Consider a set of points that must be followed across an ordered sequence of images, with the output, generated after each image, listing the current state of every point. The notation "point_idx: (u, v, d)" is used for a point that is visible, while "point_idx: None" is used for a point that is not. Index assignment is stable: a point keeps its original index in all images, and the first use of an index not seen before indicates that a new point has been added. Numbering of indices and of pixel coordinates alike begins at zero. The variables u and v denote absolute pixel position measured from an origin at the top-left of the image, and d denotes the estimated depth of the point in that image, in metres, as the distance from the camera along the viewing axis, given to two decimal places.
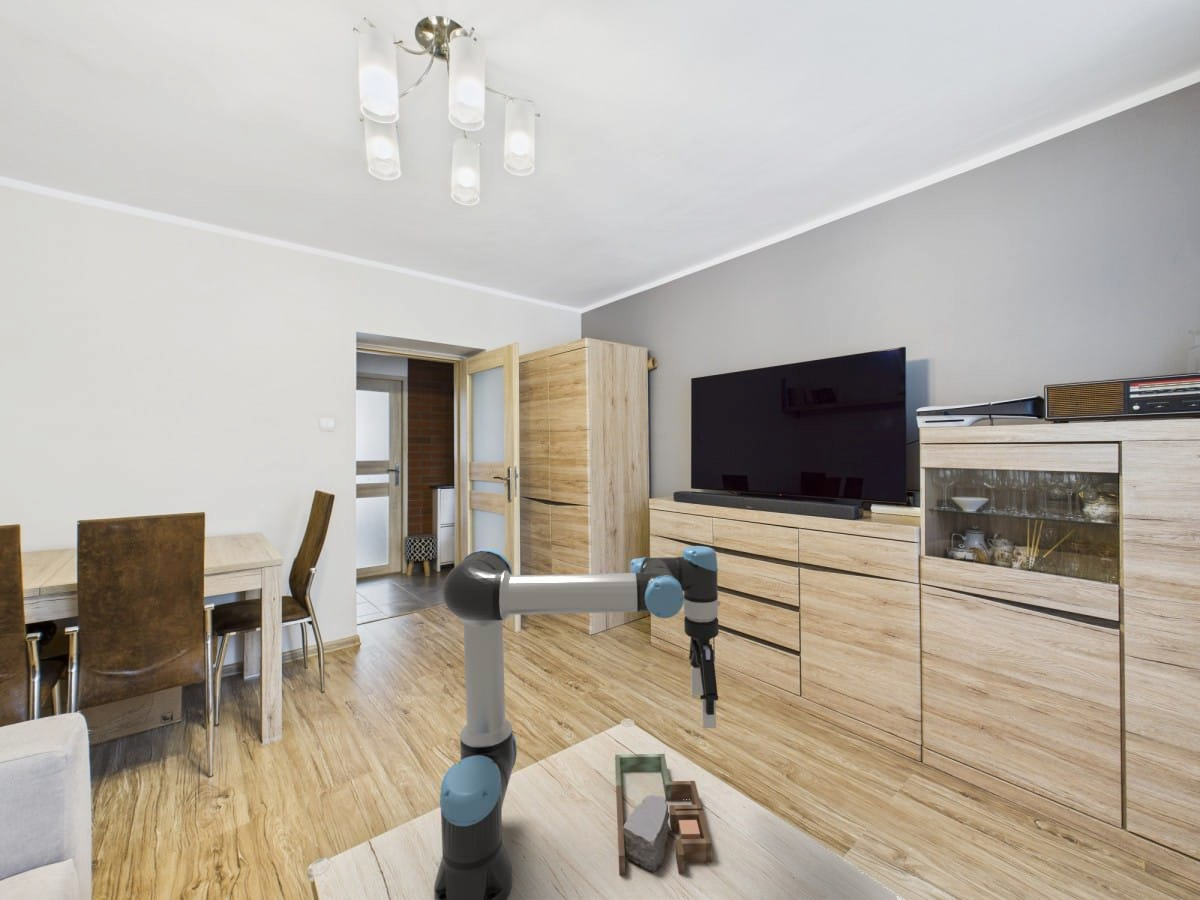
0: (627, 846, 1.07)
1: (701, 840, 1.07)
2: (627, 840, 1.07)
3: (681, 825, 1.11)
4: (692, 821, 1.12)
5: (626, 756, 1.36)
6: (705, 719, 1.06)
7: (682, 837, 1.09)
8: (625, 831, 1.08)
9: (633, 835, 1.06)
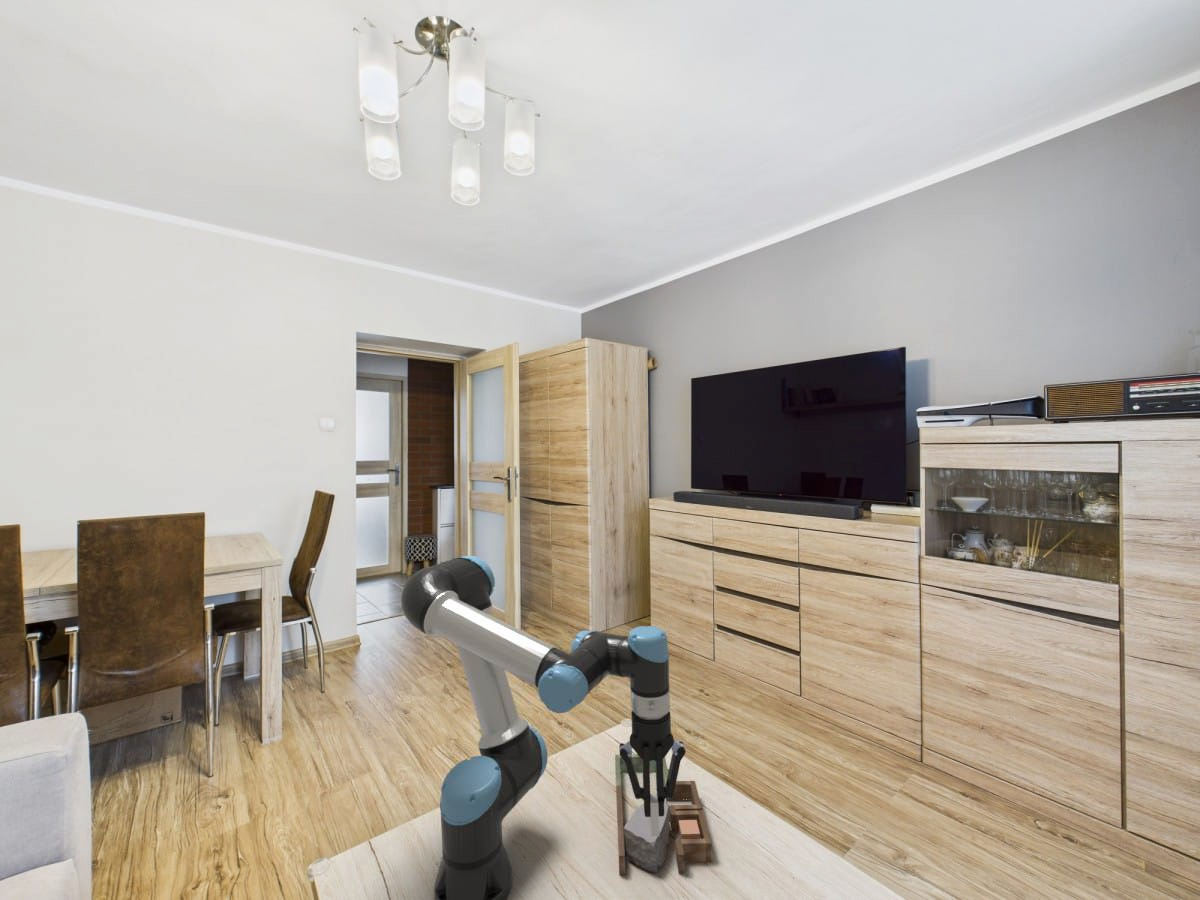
0: (628, 847, 1.07)
1: (701, 840, 1.07)
2: (628, 841, 1.07)
3: (681, 825, 1.11)
4: (692, 821, 1.12)
5: None
6: (650, 818, 0.98)
7: (682, 837, 1.09)
8: (625, 832, 1.07)
9: (634, 836, 1.06)
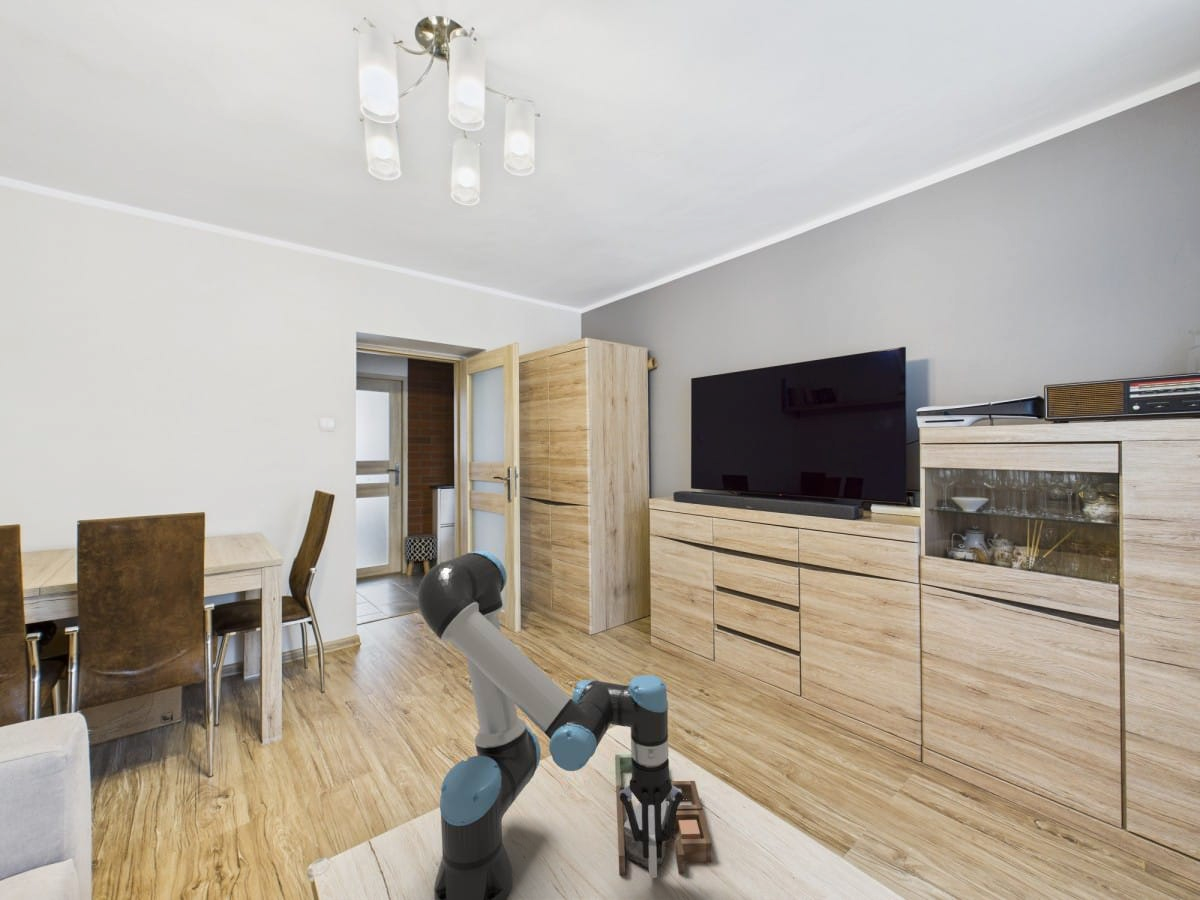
0: (627, 845, 1.07)
1: (701, 840, 1.07)
2: (628, 839, 1.07)
3: (681, 825, 1.11)
4: (692, 821, 1.13)
5: (626, 756, 1.36)
6: (648, 859, 1.03)
7: (682, 837, 1.09)
8: (625, 830, 1.08)
9: None
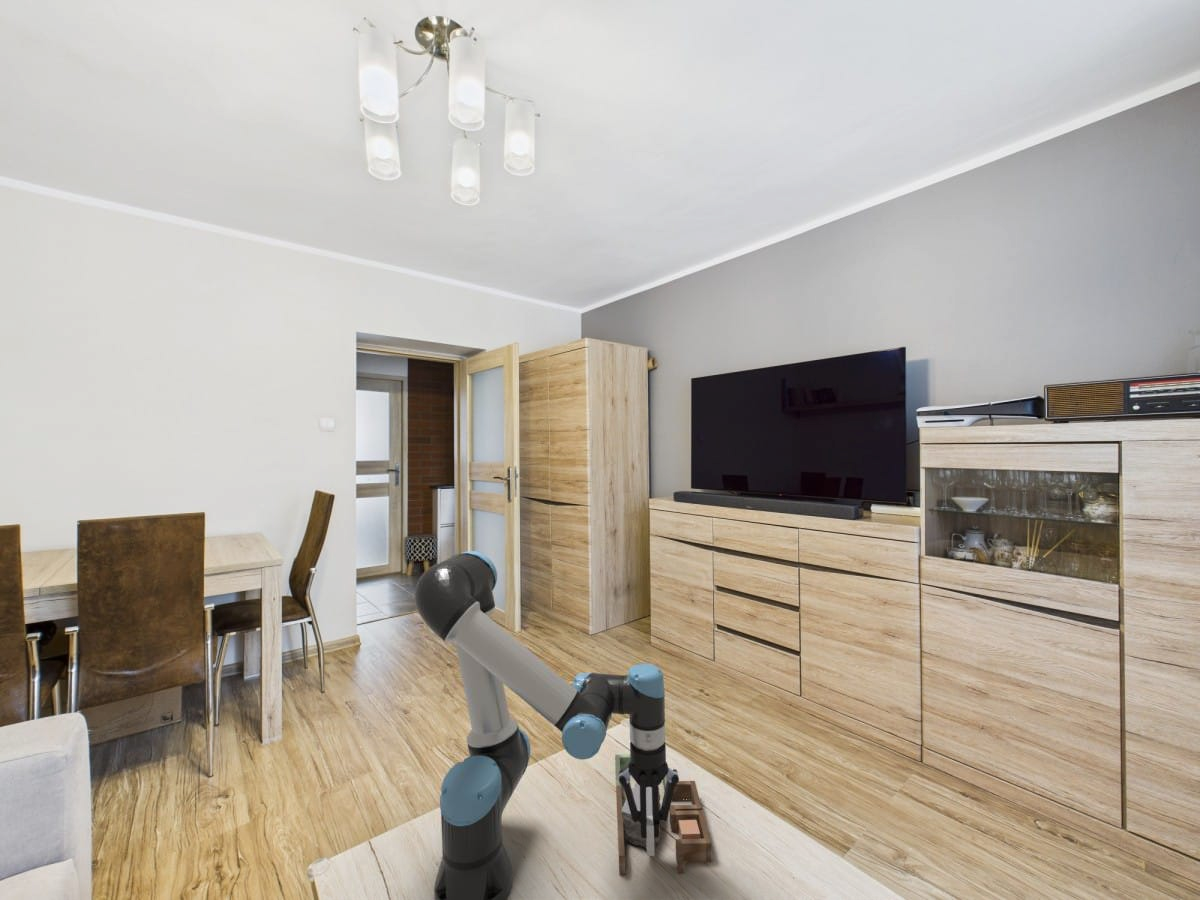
0: (626, 829, 1.12)
1: (701, 840, 1.07)
2: (626, 823, 1.12)
3: (681, 825, 1.11)
4: (692, 821, 1.13)
5: (626, 756, 1.36)
6: (646, 838, 1.08)
7: (682, 837, 1.09)
8: (623, 815, 1.12)
9: None
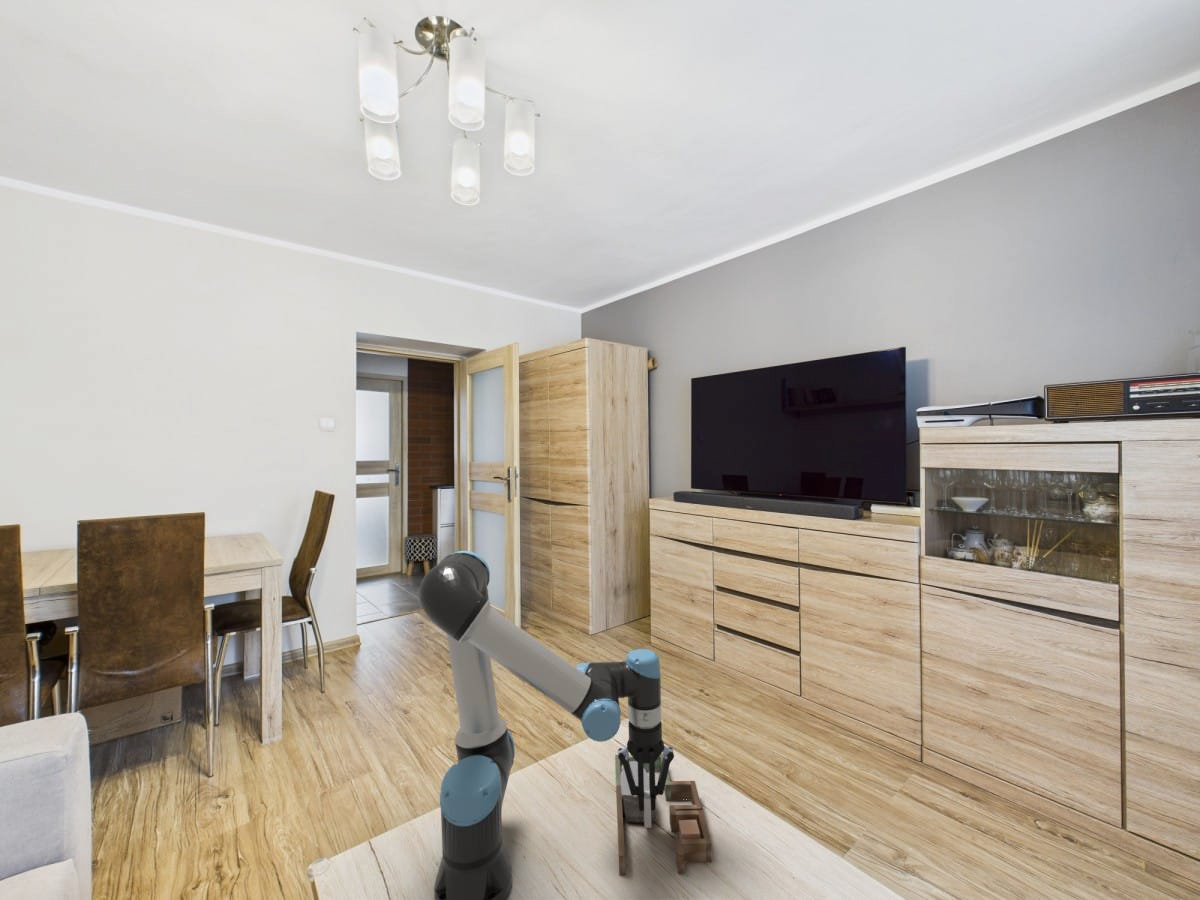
0: (627, 810, 1.17)
1: (701, 840, 1.07)
2: (627, 805, 1.17)
3: (681, 825, 1.11)
4: (692, 821, 1.13)
5: None
6: None
7: (682, 837, 1.09)
8: (624, 797, 1.18)
9: (634, 798, 1.17)
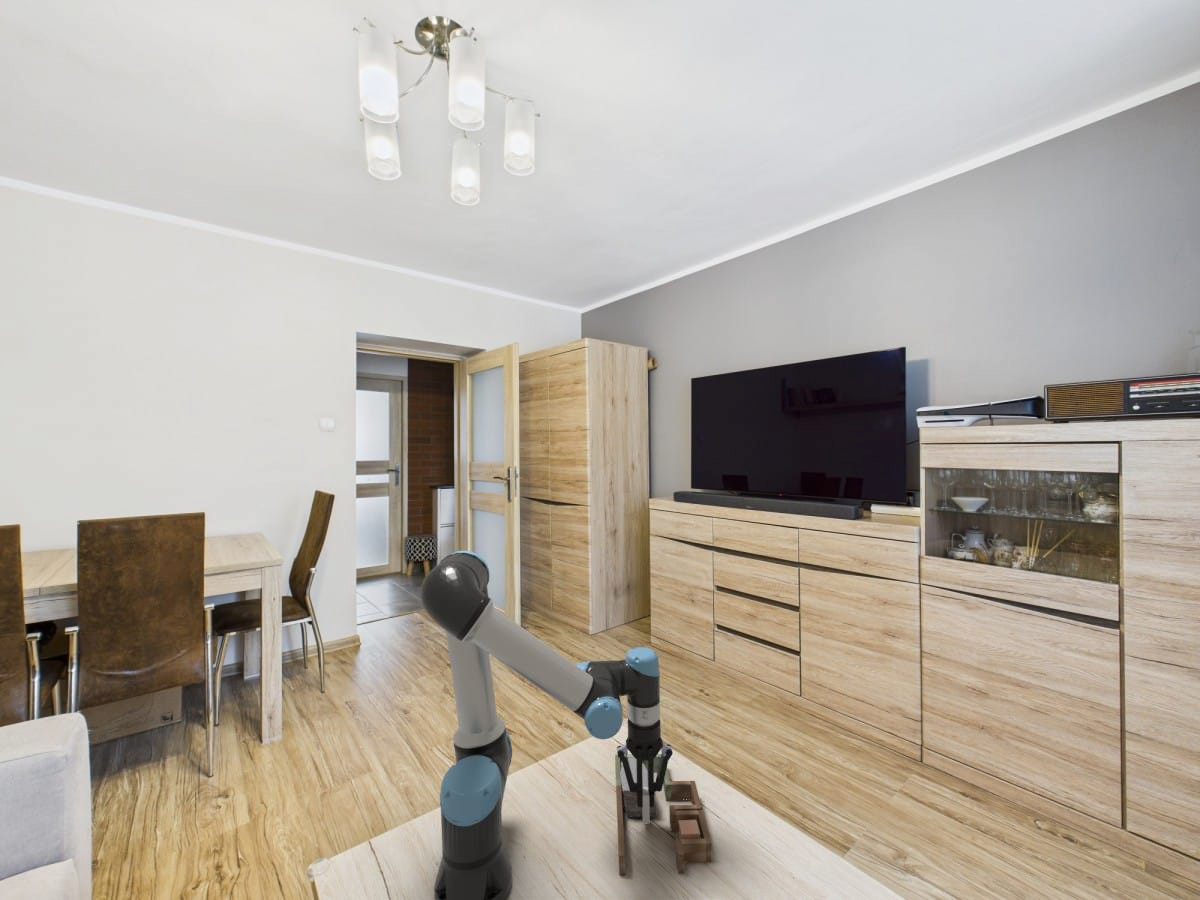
0: (628, 805, 1.19)
1: (701, 840, 1.07)
2: (628, 800, 1.19)
3: (681, 825, 1.11)
4: (692, 821, 1.13)
5: None
6: (642, 808, 1.17)
7: (682, 837, 1.09)
8: (625, 793, 1.19)
9: (635, 793, 1.19)
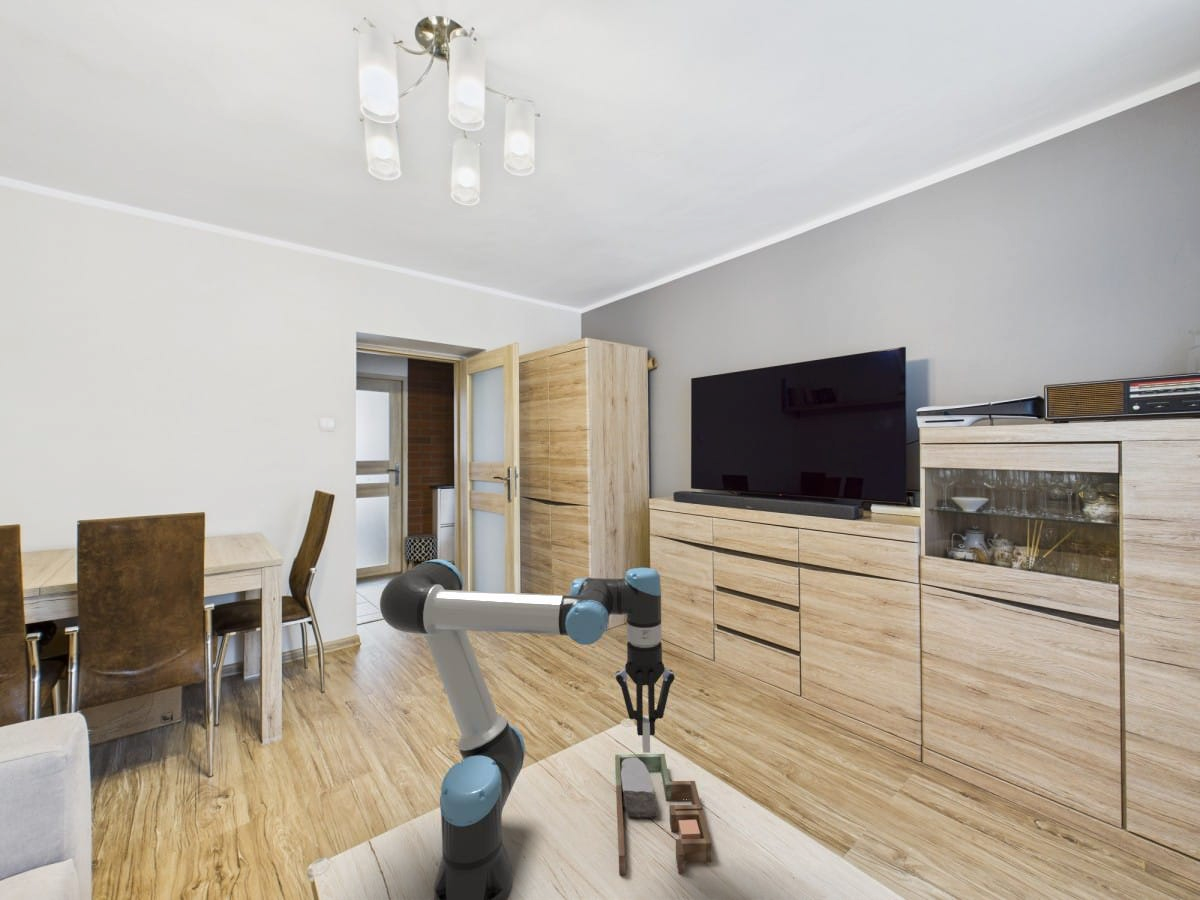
0: (628, 806, 1.19)
1: (701, 840, 1.07)
2: (628, 800, 1.19)
3: (681, 825, 1.11)
4: (692, 821, 1.13)
5: (626, 756, 1.36)
6: (642, 738, 1.11)
7: (682, 837, 1.09)
8: (625, 793, 1.19)
9: (635, 793, 1.19)
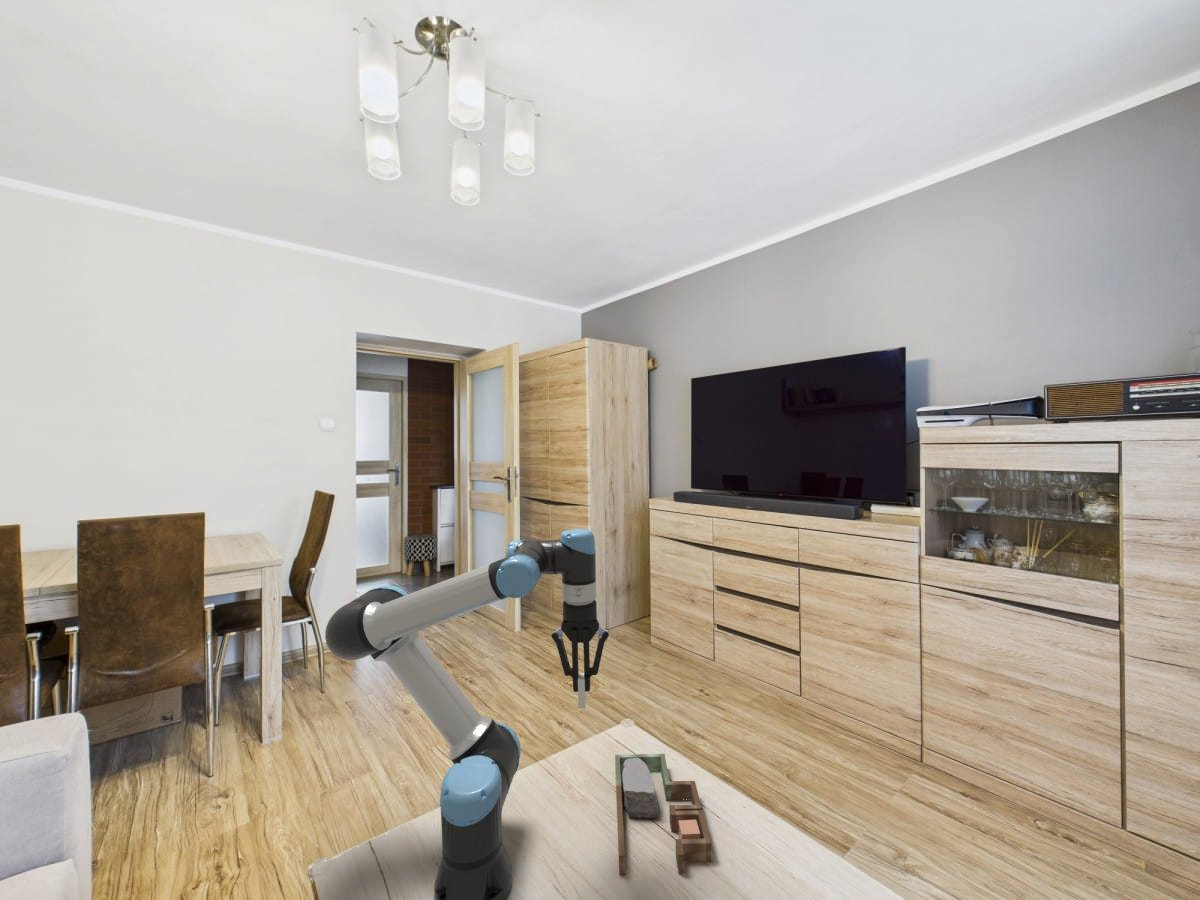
0: (629, 806, 1.19)
1: (701, 840, 1.07)
2: (629, 800, 1.19)
3: (681, 825, 1.11)
4: (692, 821, 1.13)
5: (626, 756, 1.36)
6: None
7: (682, 837, 1.09)
8: (626, 793, 1.19)
9: (636, 793, 1.19)
